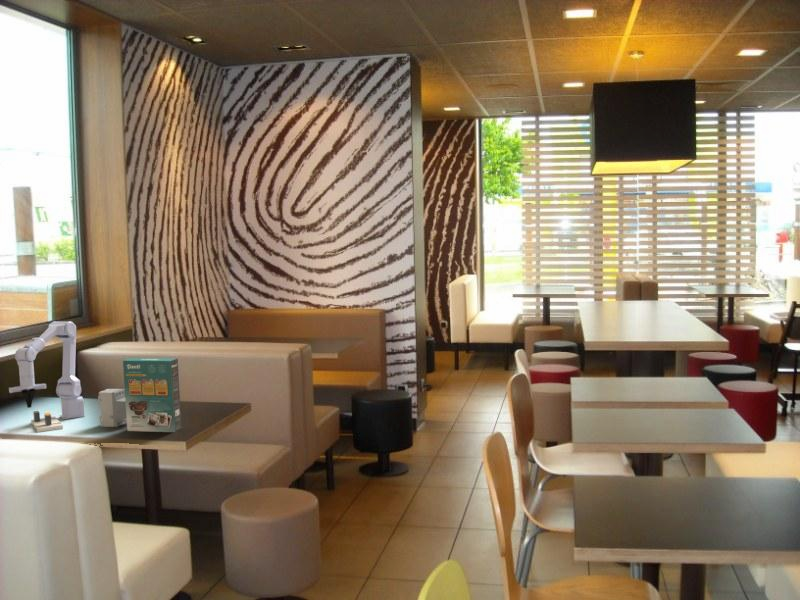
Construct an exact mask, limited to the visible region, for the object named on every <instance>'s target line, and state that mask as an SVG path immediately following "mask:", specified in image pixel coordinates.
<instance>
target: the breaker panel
mask: <svg viewBox="0 0 800 600" xmlns="http://www.w3.org/2000/svg"><path fill="white" fill-rule="evenodd" d="M32 413H33V419H31V420H30V423H31V425H32V426H33V428H34V429H35V430H36V431H37V433H42V432H48V431H55V430H63V427H64V426H63V424H62V423H61V421H60V420H58V418H57V417H56V416H51V424H52V425H46V424H45V417H43V418H41V414H40V411H38V410H37V411H36V410H34V411H32Z"/></svg>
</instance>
